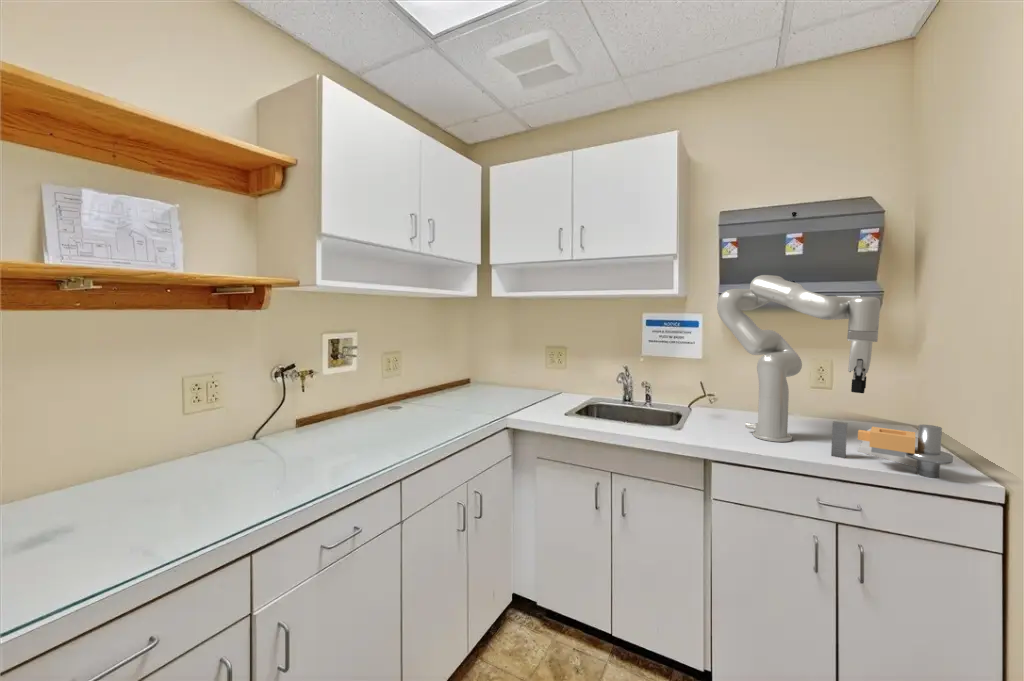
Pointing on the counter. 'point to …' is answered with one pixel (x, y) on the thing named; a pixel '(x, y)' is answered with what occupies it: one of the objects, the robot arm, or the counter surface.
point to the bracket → (889, 439)
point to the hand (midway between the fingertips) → (858, 390)
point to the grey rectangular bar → (839, 439)
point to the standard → (925, 452)
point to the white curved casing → (905, 460)
